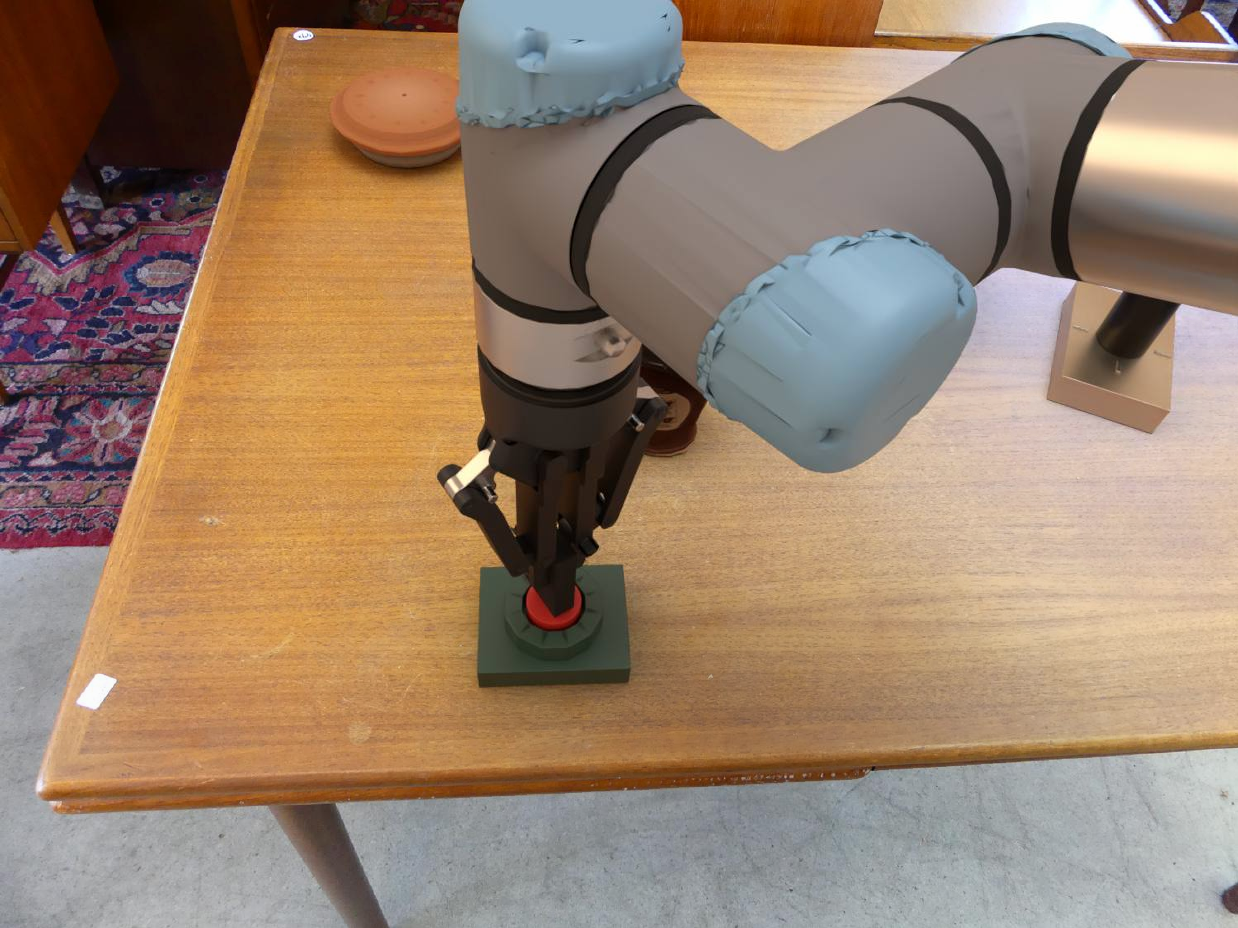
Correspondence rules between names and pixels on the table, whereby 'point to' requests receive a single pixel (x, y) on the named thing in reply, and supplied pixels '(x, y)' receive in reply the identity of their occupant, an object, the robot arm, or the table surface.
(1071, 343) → the panel
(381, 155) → the pie
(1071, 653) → the table surface
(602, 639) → the button box
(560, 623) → the button
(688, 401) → the coffee cup
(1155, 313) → the hob knob
